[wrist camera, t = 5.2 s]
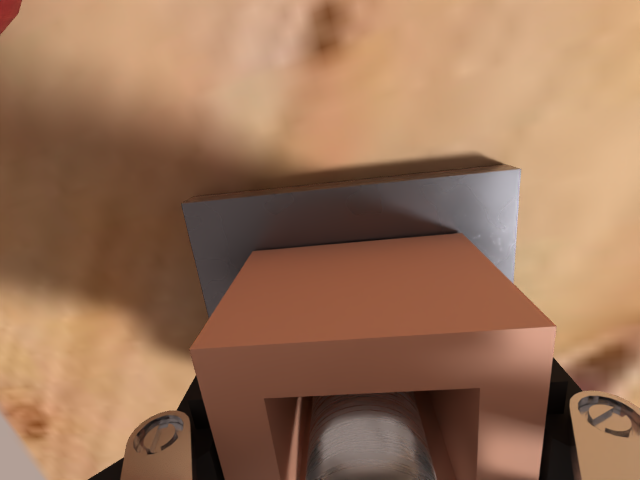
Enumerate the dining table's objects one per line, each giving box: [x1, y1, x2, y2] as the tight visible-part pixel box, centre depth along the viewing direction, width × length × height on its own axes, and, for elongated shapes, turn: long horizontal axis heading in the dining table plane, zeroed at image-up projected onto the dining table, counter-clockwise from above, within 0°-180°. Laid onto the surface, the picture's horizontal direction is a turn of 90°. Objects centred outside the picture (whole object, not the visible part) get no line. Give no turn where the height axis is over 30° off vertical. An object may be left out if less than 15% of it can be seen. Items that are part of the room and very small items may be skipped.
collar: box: [189, 233, 557, 480], centre depth 10 cm, size 6×6×5 cm
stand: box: [181, 164, 521, 480], centre depth 10 cm, size 10×10×7 cm
